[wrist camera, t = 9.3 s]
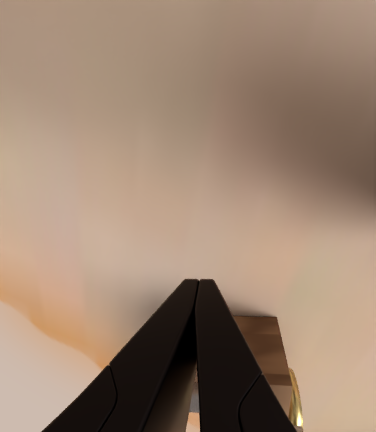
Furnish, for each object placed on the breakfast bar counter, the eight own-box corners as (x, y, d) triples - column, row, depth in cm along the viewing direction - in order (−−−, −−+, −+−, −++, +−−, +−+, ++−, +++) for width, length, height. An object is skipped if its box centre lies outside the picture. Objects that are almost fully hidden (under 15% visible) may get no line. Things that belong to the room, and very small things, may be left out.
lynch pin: (290, 354, 24) (307, 427, 19) (285, 392, 26) (300, 466, 21) (174, 349, 26) (162, 415, 20) (179, 385, 28) (169, 453, 23)
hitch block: (276, 317, 24) (292, 386, 18) (269, 403, 29) (280, 477, 23) (206, 315, 24) (202, 380, 19) (211, 399, 30) (208, 469, 24)
